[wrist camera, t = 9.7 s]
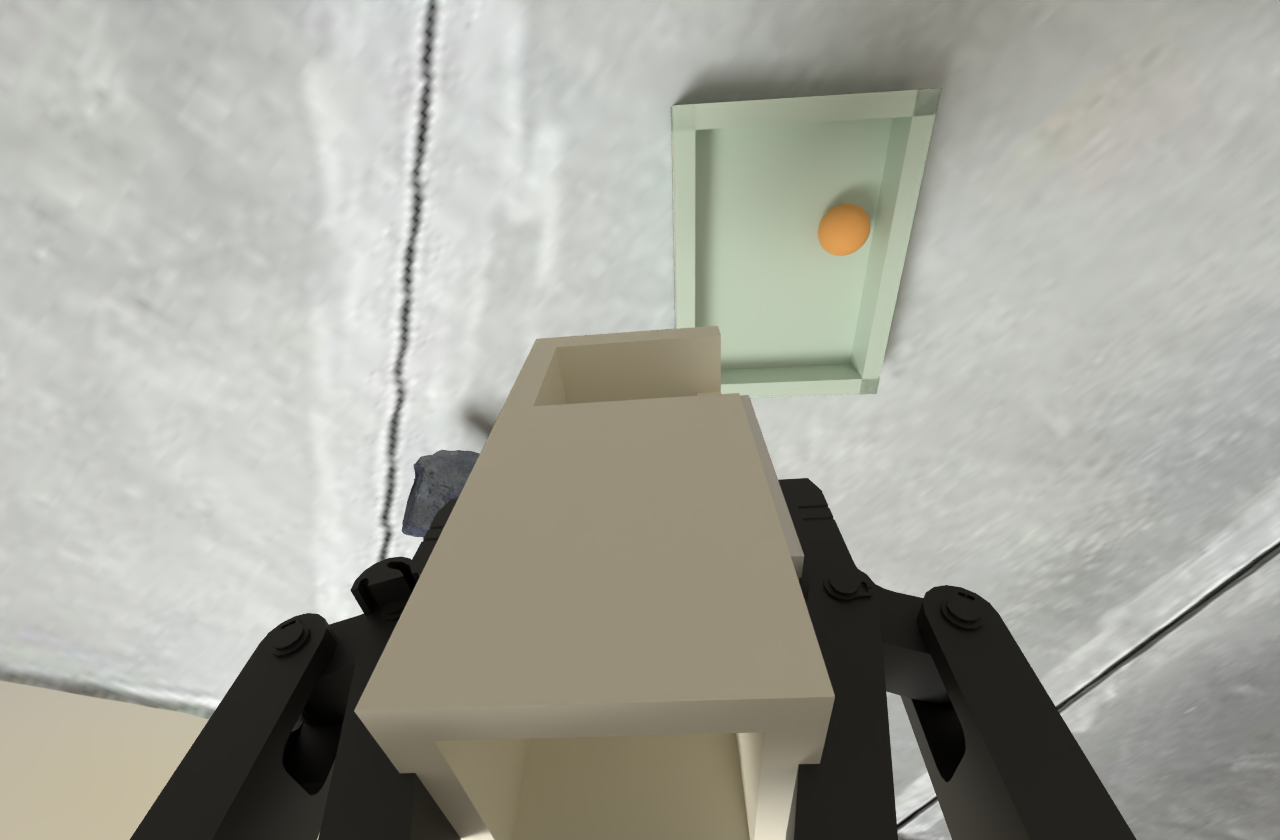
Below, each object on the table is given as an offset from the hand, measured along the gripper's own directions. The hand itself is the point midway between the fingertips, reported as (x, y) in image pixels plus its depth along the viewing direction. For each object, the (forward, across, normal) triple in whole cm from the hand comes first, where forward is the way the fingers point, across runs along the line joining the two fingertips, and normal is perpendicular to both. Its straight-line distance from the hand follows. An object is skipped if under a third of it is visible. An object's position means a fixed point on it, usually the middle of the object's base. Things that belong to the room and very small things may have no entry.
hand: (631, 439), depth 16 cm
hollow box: (+2, 0, 0) cm, 2 cm away
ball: (+20, +12, +2) cm, 24 cm away
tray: (+21, +9, 0) cm, 23 cm away
